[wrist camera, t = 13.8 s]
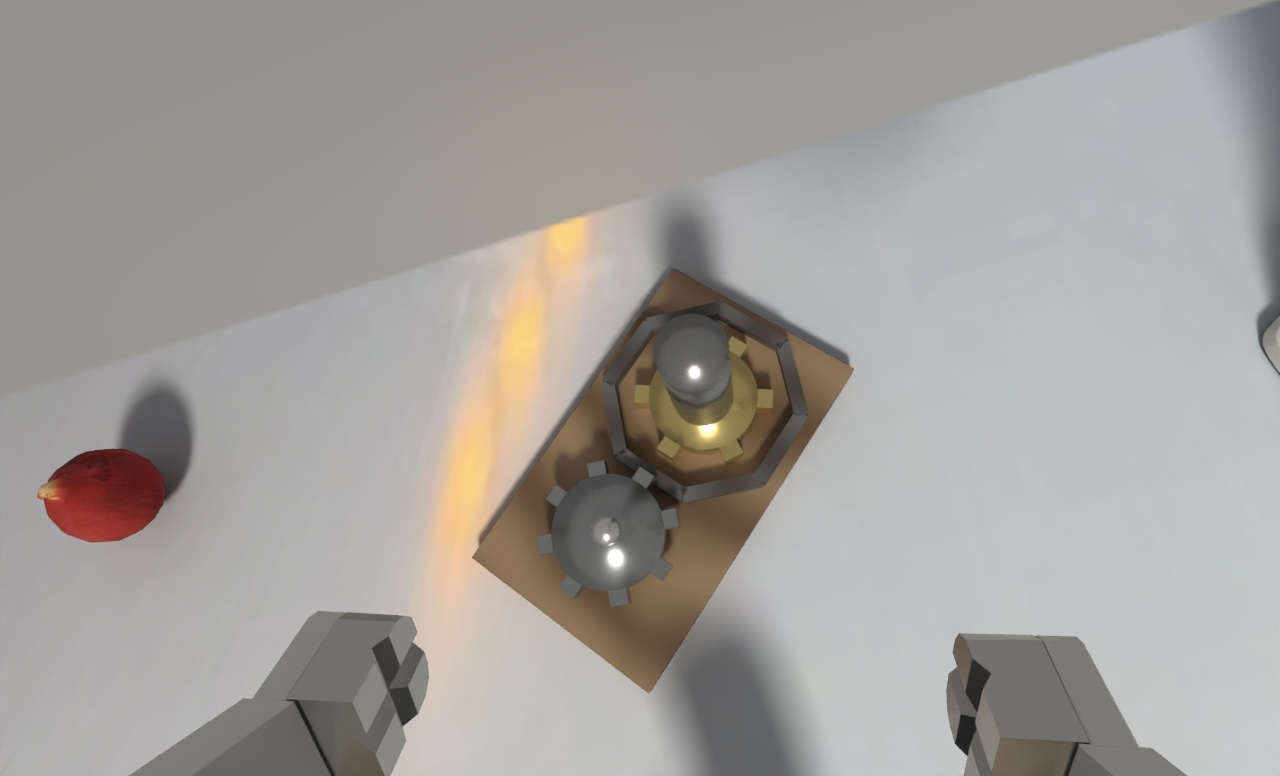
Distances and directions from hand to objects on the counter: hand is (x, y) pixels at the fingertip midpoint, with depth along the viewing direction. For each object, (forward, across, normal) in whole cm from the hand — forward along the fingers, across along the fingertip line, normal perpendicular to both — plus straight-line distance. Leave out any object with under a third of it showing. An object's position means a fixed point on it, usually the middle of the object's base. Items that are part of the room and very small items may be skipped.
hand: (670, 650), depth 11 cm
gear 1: (+24, +7, +19) cm, 31 cm away
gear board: (+28, +4, +17) cm, 33 cm away
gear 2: (+30, +1, +13) cm, 32 cm away
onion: (+26, +39, +18) cm, 50 cm away
